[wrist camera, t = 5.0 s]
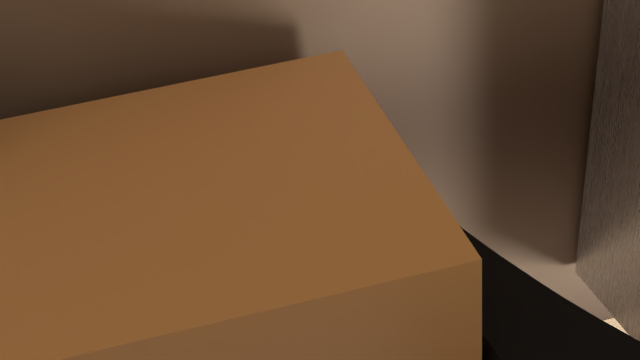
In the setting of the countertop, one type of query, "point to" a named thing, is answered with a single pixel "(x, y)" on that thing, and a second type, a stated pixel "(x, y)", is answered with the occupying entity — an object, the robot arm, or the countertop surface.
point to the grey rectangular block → (614, 170)
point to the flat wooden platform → (381, 80)
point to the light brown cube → (230, 227)
